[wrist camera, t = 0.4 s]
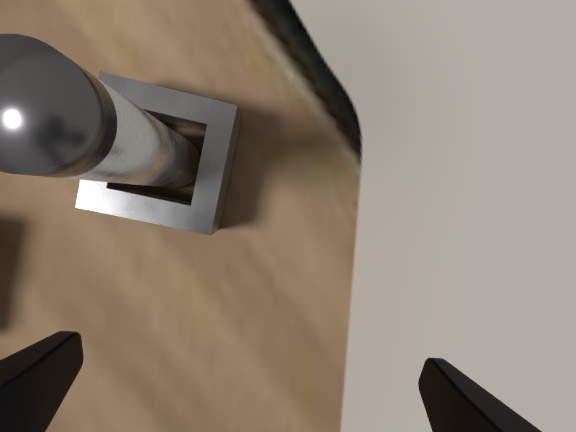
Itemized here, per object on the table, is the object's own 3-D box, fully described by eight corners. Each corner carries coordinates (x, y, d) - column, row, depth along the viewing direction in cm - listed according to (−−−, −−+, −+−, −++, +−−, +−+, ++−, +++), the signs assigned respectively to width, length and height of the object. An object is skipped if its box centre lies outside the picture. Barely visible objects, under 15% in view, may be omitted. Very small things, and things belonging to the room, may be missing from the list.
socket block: (219, 229, 20) (210, 235, 17) (104, 205, 20) (75, 207, 17) (242, 118, 20) (237, 105, 17) (125, 90, 19) (99, 71, 16)
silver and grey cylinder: (194, 192, 20) (74, 187, 8) (142, 181, 20) (-69, 156, 7) (204, 142, 20) (99, 53, 8) (152, 130, 20) (-47, 17, 7)
